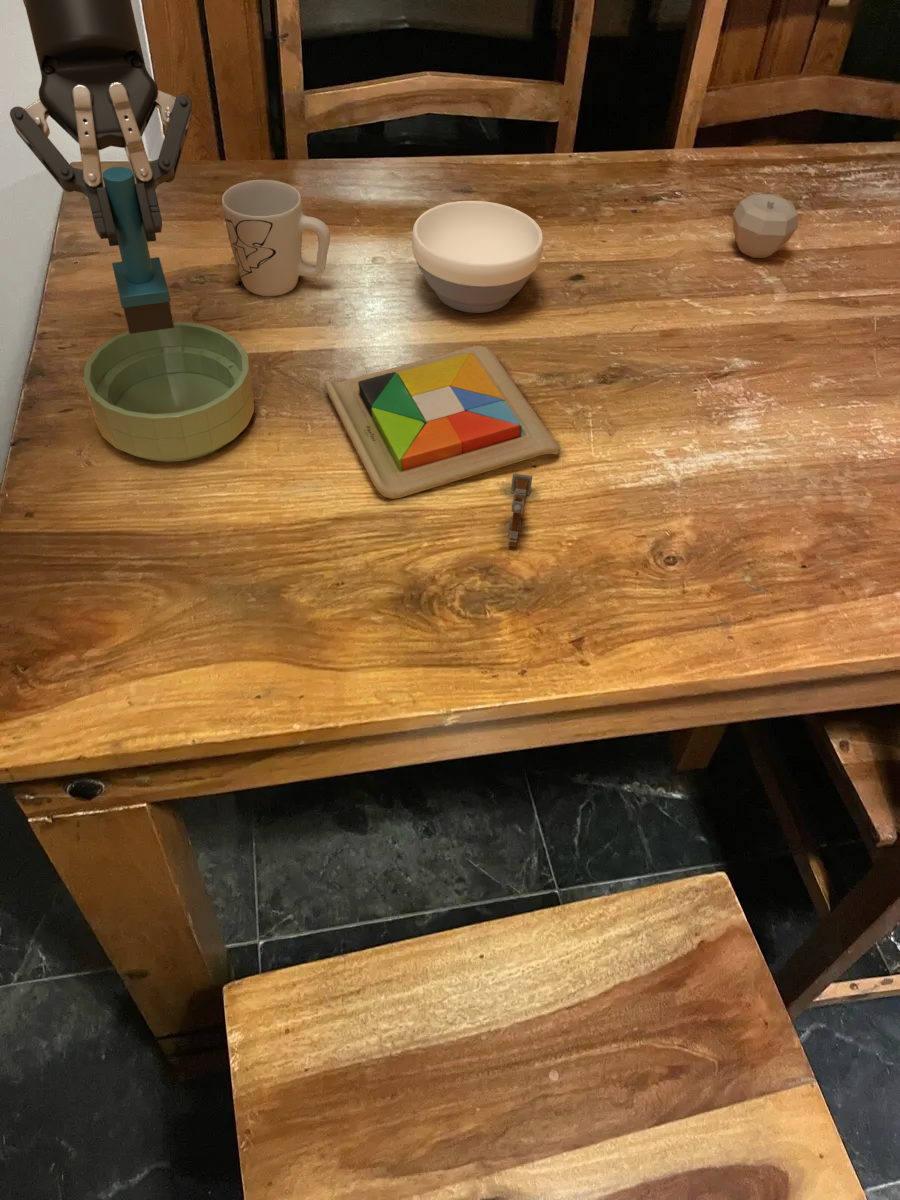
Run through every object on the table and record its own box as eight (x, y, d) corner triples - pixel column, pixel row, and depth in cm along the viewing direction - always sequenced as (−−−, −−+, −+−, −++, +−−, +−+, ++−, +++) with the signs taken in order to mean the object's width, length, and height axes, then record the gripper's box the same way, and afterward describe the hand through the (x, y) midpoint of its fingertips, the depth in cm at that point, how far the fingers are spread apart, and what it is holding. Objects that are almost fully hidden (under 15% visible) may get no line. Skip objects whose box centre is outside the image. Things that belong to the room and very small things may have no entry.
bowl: (448, 248, 114) (451, 187, 108) (556, 284, 110) (565, 222, 104) (387, 304, 106) (387, 240, 100) (501, 344, 102) (508, 280, 96)
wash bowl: (158, 492, 84) (145, 440, 80) (68, 415, 90) (51, 363, 86) (286, 421, 91) (281, 370, 87) (195, 355, 98) (185, 304, 93)
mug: (340, 271, 110) (336, 187, 102) (323, 310, 104) (318, 225, 97) (245, 259, 110) (235, 175, 103) (223, 297, 105) (210, 211, 97)
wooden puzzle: (321, 391, 95) (319, 362, 92) (491, 358, 100) (494, 329, 97) (377, 505, 84) (377, 476, 82) (563, 460, 90) (569, 432, 87)
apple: (748, 272, 114) (764, 221, 109) (711, 241, 119) (725, 190, 114) (800, 261, 116) (818, 210, 112) (762, 231, 121) (778, 181, 116)
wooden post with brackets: (500, 548, 80) (507, 498, 78) (506, 517, 87) (513, 471, 86) (521, 551, 80) (529, 502, 78) (525, 519, 87) (532, 473, 85)
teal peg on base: (175, 328, 77) (148, 187, 68) (128, 335, 76) (95, 193, 67) (166, 293, 80) (139, 154, 71) (120, 299, 79) (87, 159, 70)
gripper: (-33, -22, 64) (28, 235, 66) (173, -31, 67) (226, 213, 69) (-11, 36, 71) (44, 266, 73) (174, 25, 75) (222, 245, 76)
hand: (132, 239), depth 71 cm, fingers closed on teal peg on base, 2 cm apart
